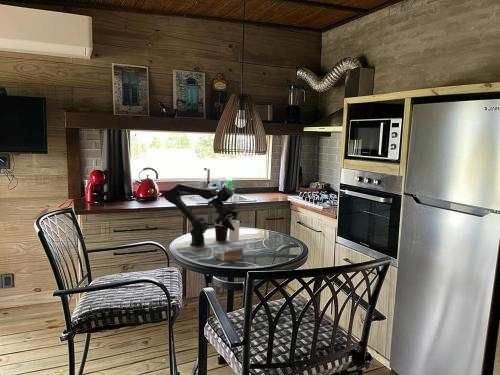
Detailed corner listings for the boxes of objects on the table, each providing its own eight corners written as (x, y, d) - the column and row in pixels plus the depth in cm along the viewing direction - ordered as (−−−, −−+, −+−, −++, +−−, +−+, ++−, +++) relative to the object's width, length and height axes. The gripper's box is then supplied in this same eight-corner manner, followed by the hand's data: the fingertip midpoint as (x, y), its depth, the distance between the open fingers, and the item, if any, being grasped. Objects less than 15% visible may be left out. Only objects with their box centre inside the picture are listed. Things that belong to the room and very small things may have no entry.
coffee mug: (220, 237, 241) (221, 221, 240) (231, 240, 236) (231, 224, 234) (207, 240, 232) (208, 224, 231) (217, 243, 227) (218, 227, 226)
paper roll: (227, 240, 212) (227, 220, 211) (231, 238, 217) (232, 219, 215) (235, 242, 210) (236, 222, 208) (240, 240, 215) (241, 220, 213)
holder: (214, 257, 202) (214, 247, 201) (230, 253, 209) (231, 244, 209) (225, 262, 195) (226, 252, 194) (242, 258, 202) (242, 249, 201)
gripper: (220, 200, 204) (238, 223, 200) (237, 196, 220) (253, 217, 217) (207, 213, 208) (224, 236, 205) (224, 208, 225) (240, 229, 221)
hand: (236, 229), depth 212 cm, fingers closed on paper roll, 5 cm apart
